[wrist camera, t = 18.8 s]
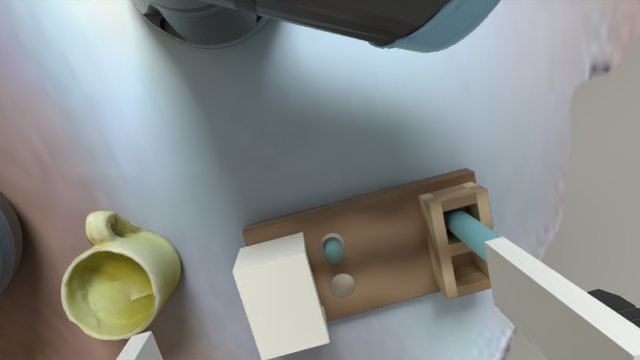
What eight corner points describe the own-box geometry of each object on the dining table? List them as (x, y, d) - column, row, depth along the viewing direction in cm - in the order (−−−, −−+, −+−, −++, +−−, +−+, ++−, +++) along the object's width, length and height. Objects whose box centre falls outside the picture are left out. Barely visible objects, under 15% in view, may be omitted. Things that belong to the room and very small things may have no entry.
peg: (435, 206, 43) (489, 250, 31) (457, 200, 43) (519, 241, 31) (439, 227, 43) (494, 277, 32) (460, 221, 43) (523, 269, 32)
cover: (240, 248, 42) (232, 271, 36) (302, 231, 42) (304, 252, 36) (265, 327, 44) (261, 360, 38) (325, 311, 44) (329, 342, 39)
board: (244, 226, 44) (238, 245, 38) (465, 168, 44) (490, 178, 39) (275, 325, 47) (273, 355, 41) (482, 269, 47) (507, 292, 42)
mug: (198, 317, 44) (137, 357, 34) (121, 304, 46) (43, 339, 36) (204, 209, 43) (144, 218, 34) (126, 202, 46) (48, 208, 36)
